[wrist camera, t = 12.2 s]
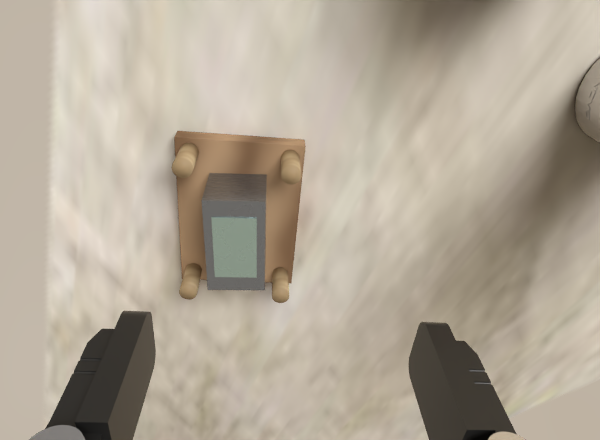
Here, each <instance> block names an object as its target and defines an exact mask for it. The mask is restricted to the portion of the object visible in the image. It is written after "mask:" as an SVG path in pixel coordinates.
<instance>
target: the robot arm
mask: <svg viewBox="0 0 600 440" xmlns="http://www.w3.org/2000/svg"><path fill="white" fill-rule="evenodd" d="M575 114H576V120H577V122H578V124H579V126H580V128H581V129H582V130H583V132H584V133H585V134H586V135H588V136H590V137H591V138H593V139H594V140H596V141H598V142H599V143H600V58H599V59H598V60H597V61H596V63H595V64H594V65H593V66H592V67H591V69H590V70H589V71H588V73H587V74H586V75H585V77H584V79H583V81H582V83H581V85H580V87H579V90H578V93H577V97H576V103H575ZM154 363H155V340H154V332H153V323H152V315H151V313H150V312H140V311H123V312H122V314H121V316H120V318H119V320H118V322H117V325H116V327H115V329H101V330H100V331H99V332H98V333H97V334H96V335H95V336H94V337H93V338H92V339H91V340H90V341H89V342H88V343H87V345H86V347H85V349H84V351H83V354H82V356H81V358H80V361H79V362H78V364H77V366H76V368H75V370H74V374H72V376H71V378H70V380H69V383H68V385H67V387H66V389H65V391H64V393H63V395H62V397H61V399H60V401H59V403H58V405H57V407H56V409H55V411H54V414H53V416H52V418H51V420H50V422H49V423H48V425H47V427H46V428H45V429H44V430H42V431H40V432H38V433H37V434H35V435H34V436H33V437H31V438H30V439H29V440H133V436H134V433H135V430H136V426H137V423H138V420H139V416H140V413H141V409H142V406H143V403H144V399H145V396H146V393H147V389H148V386H149V382H150V379H151V376H152V372H153V369H154ZM409 374H410V379H411V382H412V385H413V389H414V392H415V395H416V398H417V402H418V405H419V408H420V411H421V415H422V418H423V421H424V424H425V428H426V431H427V434H428V437H429V440H526V439H524V438H523V437H521V436H519V435H517V434H516V432H515V430H514V428H513V426H512V424H511V422H510V420H509V418H508V416H507V414H506V412H505V410H504V408H503V406H502V404H501V402H500V400H499V398H498V396H497V394H496V392H495V390H494V387H493V385H491V381H490V379H489V377H488V375H487V373H485V369H484V367H483V365H482V363H481V361H480V359H479V357H478V355H477V354H476V353H475V352H474V351H473V350H472V348H471V347H470V346H469V345H468V344H467V343H466V342H465V341H456V340H455V338H454V336H453V334H452V331H451V329H450V327H449V325H448V324H447V323H433V322H421V323H420V325H419V327H418V330H417V333H416V337H415V340H414V343H413V347H412V350H411V354H410V357H409Z"/></svg>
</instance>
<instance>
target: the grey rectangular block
mask: <svg viewBox="0 0 600 440" xmlns="http://www.w3.org/2000/svg"><path fill="white" fill-rule="evenodd" d="M266 193H267V174H232V173H209V176H208V180H207V183H206V187H205V190H204V193H203V197H202V200H201V201H202V215H203V229H204V243H205V258H206V272H207V286H208V290H265V260H266Z"/></svg>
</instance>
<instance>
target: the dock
mask: <svg viewBox="0 0 600 440" xmlns="http://www.w3.org/2000/svg"><path fill="white" fill-rule="evenodd" d="M174 138H175V156H176V158H175V160H174V162H173V164H172V171H173V173H174V174H175V175H176V176H177V193H178V212H179V230H180V248H181V267H182V279H183V280H182V283H181V287H180V290H179V294H180V296H181V297H183V298H185V299H193V298H195V297H196V295H197V291H198V286H199V282H200V279H202V280H207V272H206V258H205V243H204V229H203V215H202V201H201V200H202V197H203V193H204V190H205V187H206V183H207V180H208V176H209V173H232V174H267V193H266V260H265V282H272V298H273V300H274V301H275V302H278V303H283V302H286V301H287V300H288V299H289V283H291V280H292V270H293V261H294V251H295V241H296V232H297V222H298V212H299V203H300V193H301V183H302V174H303V164H304V154H305V141H304V140H300V139H286V138H271V137H257V136H243V135H229V134H214V133H200V132H186V131H177V133H176V135H175V137H174Z"/></svg>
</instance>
